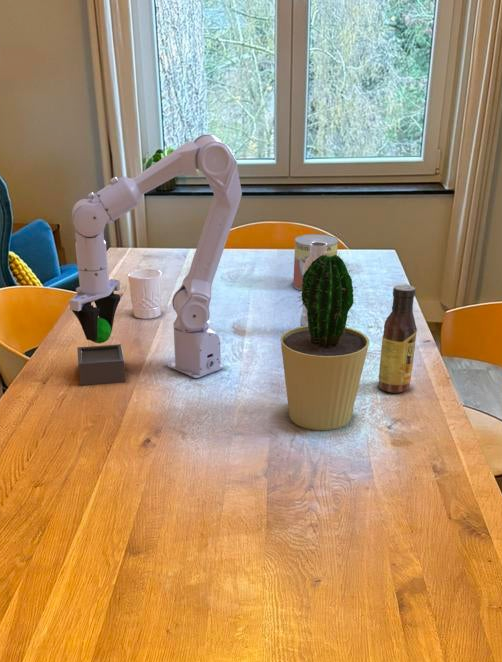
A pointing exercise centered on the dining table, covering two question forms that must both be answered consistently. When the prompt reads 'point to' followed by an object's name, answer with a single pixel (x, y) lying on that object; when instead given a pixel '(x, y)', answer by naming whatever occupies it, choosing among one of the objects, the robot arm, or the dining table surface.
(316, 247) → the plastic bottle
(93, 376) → the grey box
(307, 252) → the canned food
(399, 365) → the sauce bottle
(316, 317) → the potted cactus
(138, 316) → the white cup
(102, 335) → the polyhedron
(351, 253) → the dining table surface
